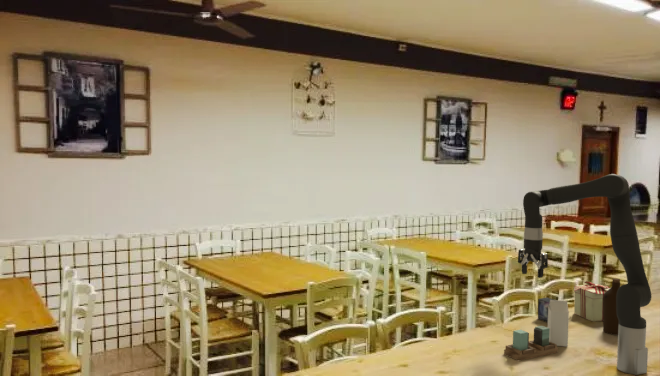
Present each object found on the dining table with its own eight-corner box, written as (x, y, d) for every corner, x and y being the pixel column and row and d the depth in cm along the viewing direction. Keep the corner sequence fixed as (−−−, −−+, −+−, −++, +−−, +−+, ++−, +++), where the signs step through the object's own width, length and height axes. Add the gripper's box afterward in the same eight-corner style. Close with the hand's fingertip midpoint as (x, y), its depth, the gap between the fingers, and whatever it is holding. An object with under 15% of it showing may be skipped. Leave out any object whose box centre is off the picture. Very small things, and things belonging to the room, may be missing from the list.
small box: (536, 319, 280) (537, 298, 280) (546, 317, 283) (547, 297, 283) (553, 324, 271) (553, 303, 270) (563, 323, 274) (563, 302, 273)
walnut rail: (557, 352, 231) (558, 328, 231) (518, 360, 221) (519, 335, 221) (542, 346, 238) (543, 323, 238) (504, 354, 228) (504, 330, 228)
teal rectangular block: (528, 351, 226) (529, 332, 226) (520, 353, 224) (520, 333, 224) (521, 348, 230) (521, 329, 229) (512, 350, 228) (513, 330, 227)
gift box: (567, 314, 290) (568, 281, 289) (595, 311, 295) (596, 279, 294) (591, 323, 274) (592, 288, 273) (621, 320, 279) (622, 286, 278)
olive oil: (621, 337, 252) (623, 282, 251) (597, 331, 261) (599, 278, 259) (631, 332, 259) (633, 279, 258) (608, 327, 267) (609, 275, 266)
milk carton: (567, 347, 238) (569, 303, 237) (550, 345, 240) (551, 302, 239) (564, 341, 245) (565, 299, 244) (547, 340, 247) (548, 298, 246)
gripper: (552, 239, 234) (551, 278, 234) (526, 235, 246) (525, 271, 247) (540, 240, 230) (538, 279, 231) (514, 236, 243) (513, 273, 244)
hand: (532, 275), depth 239 cm, fingers open, 8 cm apart
